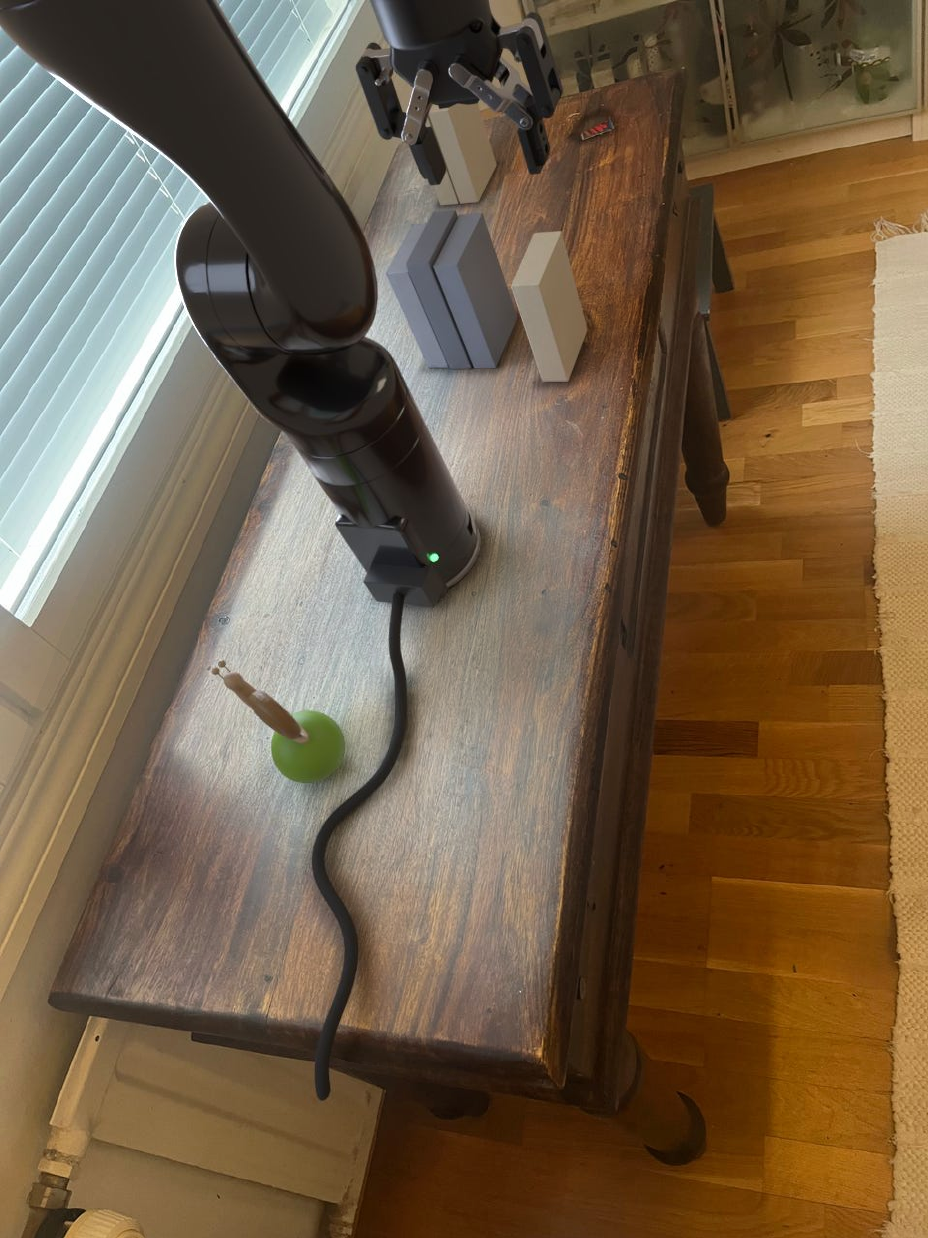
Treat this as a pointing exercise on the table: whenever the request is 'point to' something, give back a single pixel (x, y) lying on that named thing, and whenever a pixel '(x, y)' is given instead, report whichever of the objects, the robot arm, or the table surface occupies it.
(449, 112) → the cream books
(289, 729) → the snail figurine
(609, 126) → the black red flat piece
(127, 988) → the table surface
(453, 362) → the grey books
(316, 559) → the table surface
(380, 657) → the table surface
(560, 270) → the cream book
